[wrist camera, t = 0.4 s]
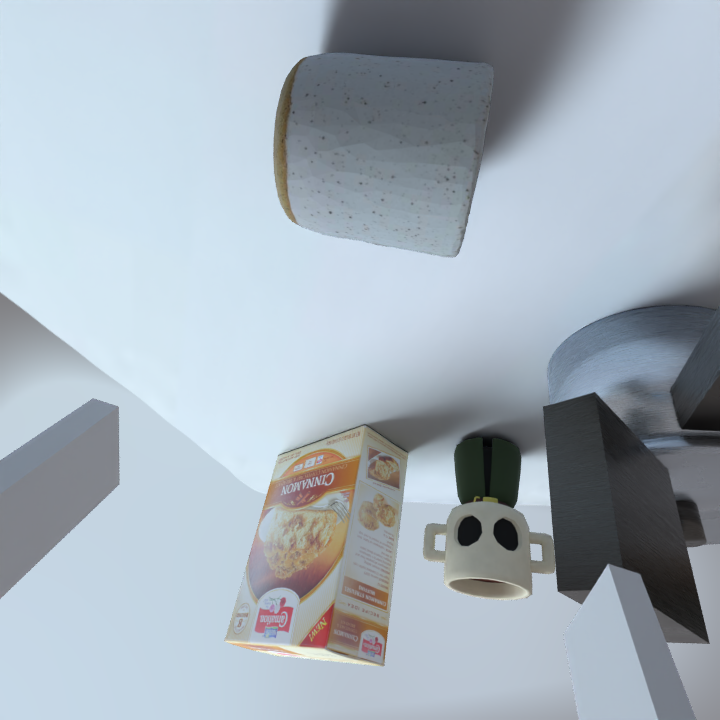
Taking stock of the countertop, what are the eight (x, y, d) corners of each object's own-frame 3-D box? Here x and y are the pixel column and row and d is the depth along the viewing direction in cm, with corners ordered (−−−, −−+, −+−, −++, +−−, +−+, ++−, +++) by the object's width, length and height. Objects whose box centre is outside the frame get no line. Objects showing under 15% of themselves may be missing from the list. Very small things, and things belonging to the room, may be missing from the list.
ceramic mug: (301, 18, 20) (248, 110, 16) (497, 29, 20) (499, 129, 15) (320, 222, 29) (289, 318, 25) (457, 235, 28) (450, 337, 24)
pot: (571, 202, 25) (594, 333, 20) (883, 176, 22) (1010, 325, 16) (537, 437, 44) (544, 535, 39) (700, 443, 41) (731, 551, 36)
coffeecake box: (364, 422, 47) (324, 651, 36) (411, 452, 51) (388, 669, 39) (274, 454, 57) (220, 643, 45) (319, 478, 60) (279, 658, 49)
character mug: (550, 432, 43) (563, 587, 36) (542, 466, 49) (552, 607, 41) (428, 426, 46) (416, 570, 38) (433, 460, 51) (424, 591, 44)
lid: (845, 516, 28) (928, 701, 23) (607, 538, 37) (627, 678, 32) (742, 326, 18) (848, 582, 13) (446, 418, 27) (436, 594, 21)
